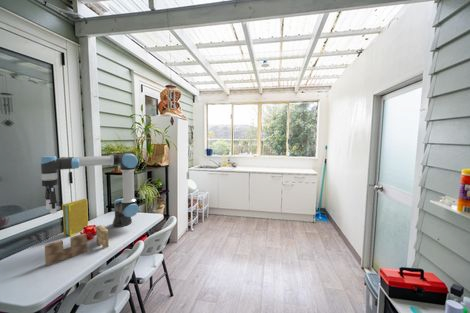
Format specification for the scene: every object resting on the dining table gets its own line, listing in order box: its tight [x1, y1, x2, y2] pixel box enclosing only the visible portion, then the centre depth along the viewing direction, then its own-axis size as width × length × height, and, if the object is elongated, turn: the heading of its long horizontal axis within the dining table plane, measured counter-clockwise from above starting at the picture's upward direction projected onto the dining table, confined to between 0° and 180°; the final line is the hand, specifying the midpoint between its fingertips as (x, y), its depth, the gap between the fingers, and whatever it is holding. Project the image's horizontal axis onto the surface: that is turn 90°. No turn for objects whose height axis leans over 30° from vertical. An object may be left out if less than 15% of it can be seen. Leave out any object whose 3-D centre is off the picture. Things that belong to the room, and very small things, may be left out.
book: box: [61, 198, 89, 237], centre depth 161 cm, size 17×7×25 cm, turn 168°
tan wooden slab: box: [95, 224, 109, 249], centre depth 141 cm, size 3×14×12 cm, turn 52°
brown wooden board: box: [44, 232, 88, 266], centre depth 124 cm, size 20×3×12 cm, turn 142°
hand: (51, 211), depth 129 cm, fingers open, 13 cm apart
